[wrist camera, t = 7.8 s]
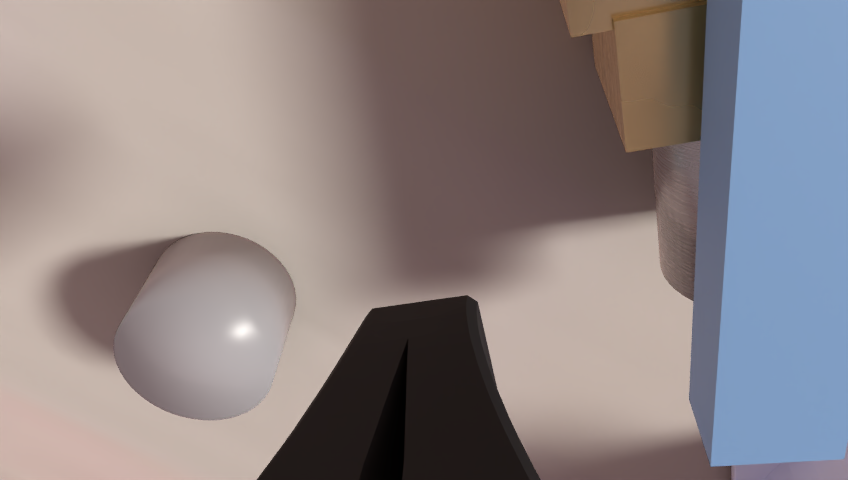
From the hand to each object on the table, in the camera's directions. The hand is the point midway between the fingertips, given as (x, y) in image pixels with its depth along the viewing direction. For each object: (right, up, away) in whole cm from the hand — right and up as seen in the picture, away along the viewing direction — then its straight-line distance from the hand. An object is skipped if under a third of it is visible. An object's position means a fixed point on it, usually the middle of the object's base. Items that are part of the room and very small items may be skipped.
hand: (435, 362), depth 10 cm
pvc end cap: (-6, 0, +12) cm, 13 cm away
